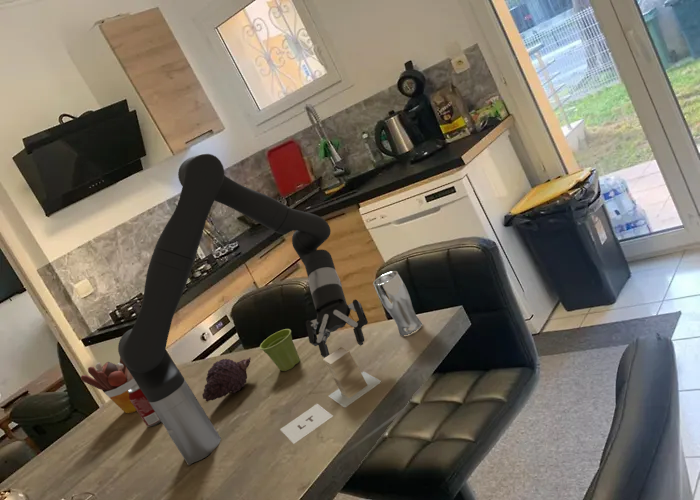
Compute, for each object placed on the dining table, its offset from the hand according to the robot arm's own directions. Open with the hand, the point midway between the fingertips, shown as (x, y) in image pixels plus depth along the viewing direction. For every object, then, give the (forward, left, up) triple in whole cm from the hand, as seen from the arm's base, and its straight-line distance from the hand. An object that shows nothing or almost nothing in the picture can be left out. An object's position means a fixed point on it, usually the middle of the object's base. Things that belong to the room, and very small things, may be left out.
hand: (344, 351), depth 152 cm
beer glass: (+19, +5, -7) cm, 21 cm away
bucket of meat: (-47, +78, -7) cm, 91 cm away
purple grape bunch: (-23, +38, -7) cm, 45 cm away
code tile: (-16, -5, -7) cm, 19 cm away
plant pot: (-7, +32, -7) cm, 33 cm away
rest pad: (-3, -5, -7) cm, 9 cm away
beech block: (-3, -5, -7) cm, 9 cm away
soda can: (-44, +54, -7) cm, 70 cm away
